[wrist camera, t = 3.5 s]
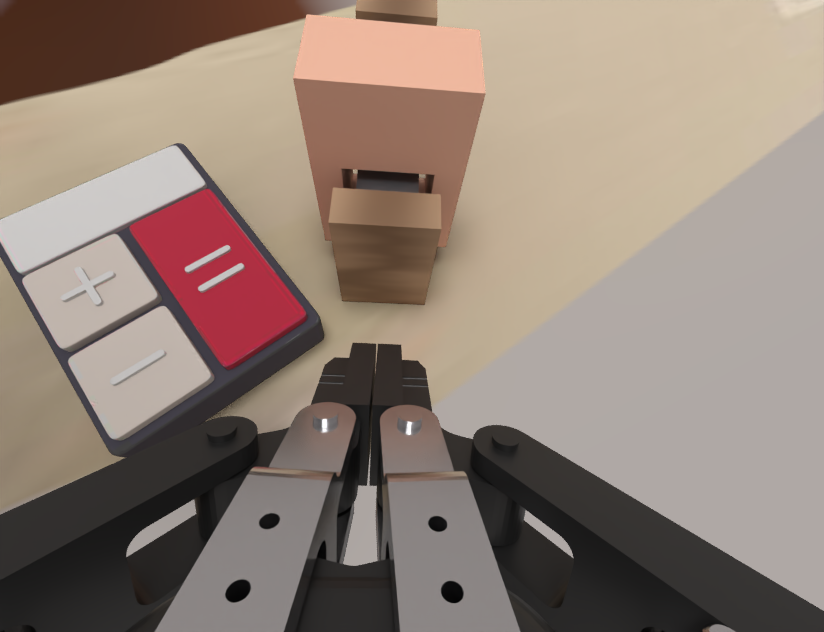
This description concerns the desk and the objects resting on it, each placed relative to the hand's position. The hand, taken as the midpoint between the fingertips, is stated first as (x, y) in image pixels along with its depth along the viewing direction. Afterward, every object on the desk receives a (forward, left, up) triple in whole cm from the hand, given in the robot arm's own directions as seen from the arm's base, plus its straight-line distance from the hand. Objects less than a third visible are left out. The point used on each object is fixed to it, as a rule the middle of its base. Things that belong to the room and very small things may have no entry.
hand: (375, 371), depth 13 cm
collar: (0, +12, -8) cm, 15 cm away
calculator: (-12, +7, -10) cm, 17 cm away
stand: (0, +16, -10) cm, 19 cm away
